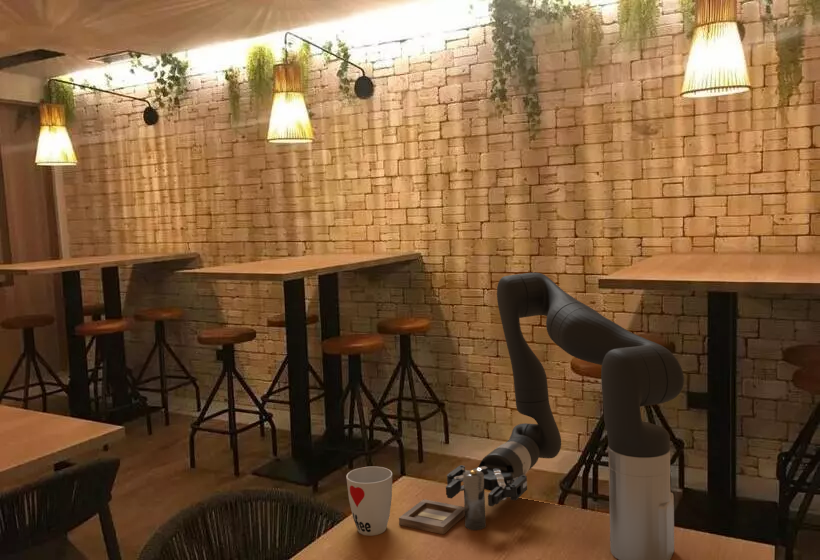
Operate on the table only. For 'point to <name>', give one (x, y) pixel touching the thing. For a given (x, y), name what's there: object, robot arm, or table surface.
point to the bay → (432, 516)
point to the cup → (370, 498)
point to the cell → (474, 500)
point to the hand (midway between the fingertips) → (469, 496)
